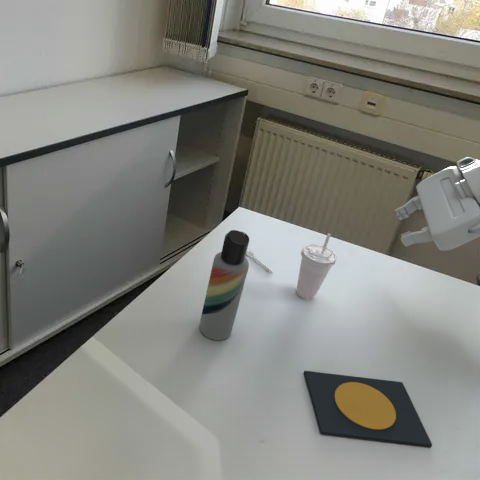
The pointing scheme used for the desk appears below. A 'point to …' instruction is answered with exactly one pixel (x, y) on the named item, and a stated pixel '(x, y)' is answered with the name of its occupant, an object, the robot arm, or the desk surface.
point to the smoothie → (314, 268)
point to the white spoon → (259, 261)
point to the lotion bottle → (225, 287)
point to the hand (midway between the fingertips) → (399, 227)
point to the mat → (365, 409)
